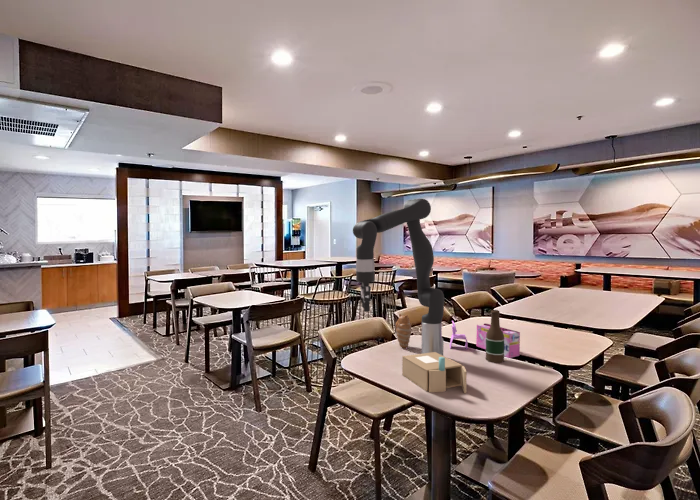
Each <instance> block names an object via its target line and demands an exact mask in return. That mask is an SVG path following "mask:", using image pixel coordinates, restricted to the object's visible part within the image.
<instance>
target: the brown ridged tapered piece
mask: <svg viewBox="0 0 700 500" xmlns="http://www.w3.org/2000/svg"><path fill="white" fill-rule="evenodd" d="M398 317H399V318H398V319H397V321H396V322H395V332H396V337H397V342H398V345H399V347H400V348H401V347H402V349H408V347H409V343H410V340H411V334H412V324H411V323H410V321H411V320H410V318H409V316H408V314H406V315H402V314H401V313H399V315H398Z"/></svg>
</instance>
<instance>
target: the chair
mask: <svg viewBox="0 0 700 500" xmlns="http://www.w3.org/2000/svg"><path fill="white" fill-rule="evenodd" d="M451 322H452V325H451V330H452V331H451V332H452V334H451V336H450V340H449V341H450V342H449V349H450V350H451V349H452V345H453V340H459V339H460V340H465V345H464V347H465V349H466V350H468V347H469V346H468V345H469V344H468V342H469V341H468V338H467V336H466V334H465V333H463V334H460V333H459V334H458V333H457V331H458V330H457V328H456V323H455V322H454V320H451Z"/></svg>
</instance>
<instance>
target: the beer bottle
mask: <svg viewBox="0 0 700 500" xmlns="http://www.w3.org/2000/svg"><path fill="white" fill-rule="evenodd" d="M490 313H491V315H490V317H491V318H490V328H489V330H488V331H487V334H486V349H485V360H486V361H487V362H488V363H493V364H502V363H503V362H505V356H504V334H503V332H502V330H501V329H500V327H501V325H500V324H501V323H500V313H501V312H500V310H498V309H491V310H490Z"/></svg>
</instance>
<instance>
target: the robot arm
mask: <svg viewBox="0 0 700 500" xmlns="http://www.w3.org/2000/svg"><path fill="white" fill-rule="evenodd" d="M431 207H432V205H431V204H430V202H429V201H428V199H426V198H416V199H409V200H407V201H406V202H405V203H404V206H403V208H400V209H395V210H393V211H389V212H384V213H383V214H380V215H377V216H376V217H371V218H368V219H364V220H361V221H358V222H356V223H355V224H354V225H353V228H352V234H353V236H355V237H356V239H360V240H361V243H360V244H359V245H357V247H356V262H355V275H356V276H355V278H356V279H355V281H356V282H357V283H360V289H359V290H360V296H361V307H362V308H363V311H364V312H366V313H369V312H370V311H371V310H370V309H371V308H370V307H371V306H370V303H371V300H372V299H371V295H372V294H371V293H372V292H371V291H372V290H371V289H372V288H371V287H372V286H370V283H374V282H375V260H374V259H375V258H374V256H375V255H374V254H375V253H374V249H375V244H376V239H377V235H378V233H379V234H380V233H383V232H386V231H388V230H391V229H394V228H396V227H398V226H400V225H403V224H405V223H406V226H407V230H408V233H409V238H410V239H409V240H410V244H411V250H412V252H411V253H412V257H413V262H414V267H415V275H416V276H415V277H416V286H417V287H416V288H417V299H418V301H419V304H420V305H421V306H423V307H426V308H428V310H427V311H428V312H427V313H426V314H422V316H421V354H423V353H431V352H436V353H438V354H440V355H442V356H444V338H443V337H442V336H443V331H442V329H443V327H442V325H443V324H442V323H443V317H444V313H445V310H444V309H445V308H444V307H445V295H444V292H443V291H442V290H441V289H440V288H435V287H432V286H431V282H430V281H431V280H430V274H431V271H432V270H433V269H432V268H433V266H434V262H435V257H434V250H433V245H432V243H431V241H430V240H429V238H428V237H427V235H426V234H425V232H424V231H423V229H422V226H421V220H424V219H426V218H427V217H429V215H430V214H431V209H432V208H431Z"/></svg>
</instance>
